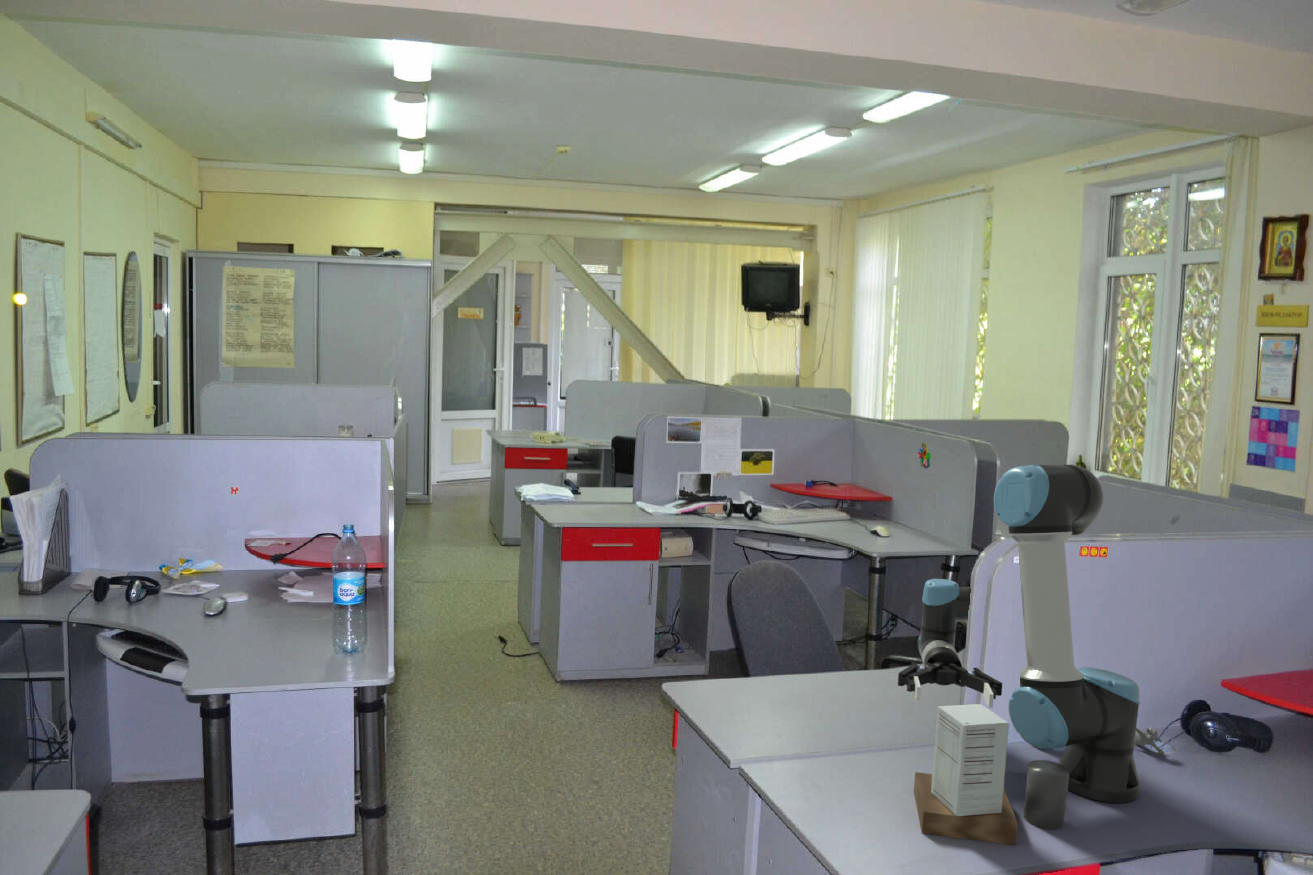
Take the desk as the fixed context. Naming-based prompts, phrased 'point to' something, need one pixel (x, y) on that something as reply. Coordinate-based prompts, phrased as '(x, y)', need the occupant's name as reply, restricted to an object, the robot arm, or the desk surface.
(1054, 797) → the dark grey cylinder
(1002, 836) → the podium
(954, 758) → the supplement box
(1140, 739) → the pale grey branched piece
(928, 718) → the desk surface
